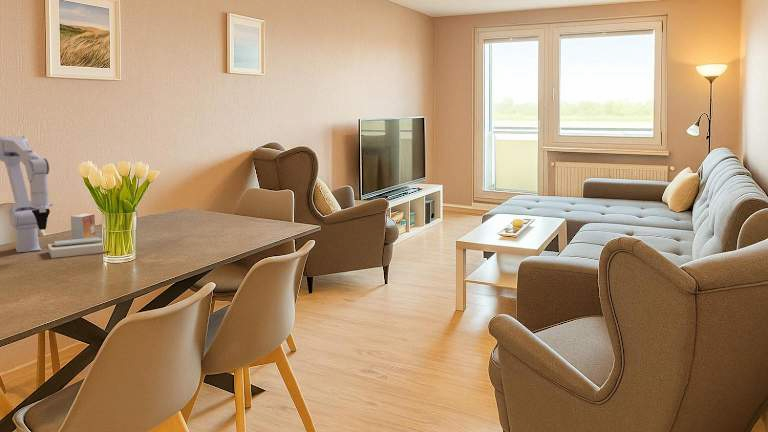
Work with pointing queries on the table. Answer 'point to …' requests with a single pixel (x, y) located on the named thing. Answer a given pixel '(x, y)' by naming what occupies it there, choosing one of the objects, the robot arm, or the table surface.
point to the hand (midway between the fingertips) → (42, 229)
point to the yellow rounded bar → (80, 243)
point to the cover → (77, 241)
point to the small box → (83, 226)
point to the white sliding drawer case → (74, 249)
